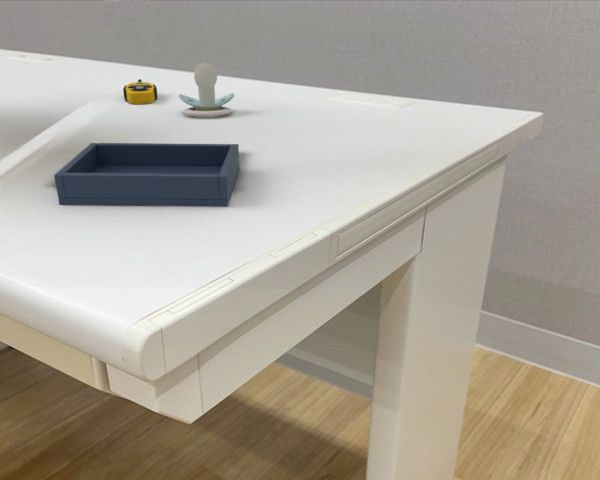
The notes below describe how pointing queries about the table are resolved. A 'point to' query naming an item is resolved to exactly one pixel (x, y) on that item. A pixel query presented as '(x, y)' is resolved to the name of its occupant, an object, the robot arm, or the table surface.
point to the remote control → (140, 92)
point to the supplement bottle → (126, 0)
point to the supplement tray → (150, 175)
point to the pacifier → (206, 94)
